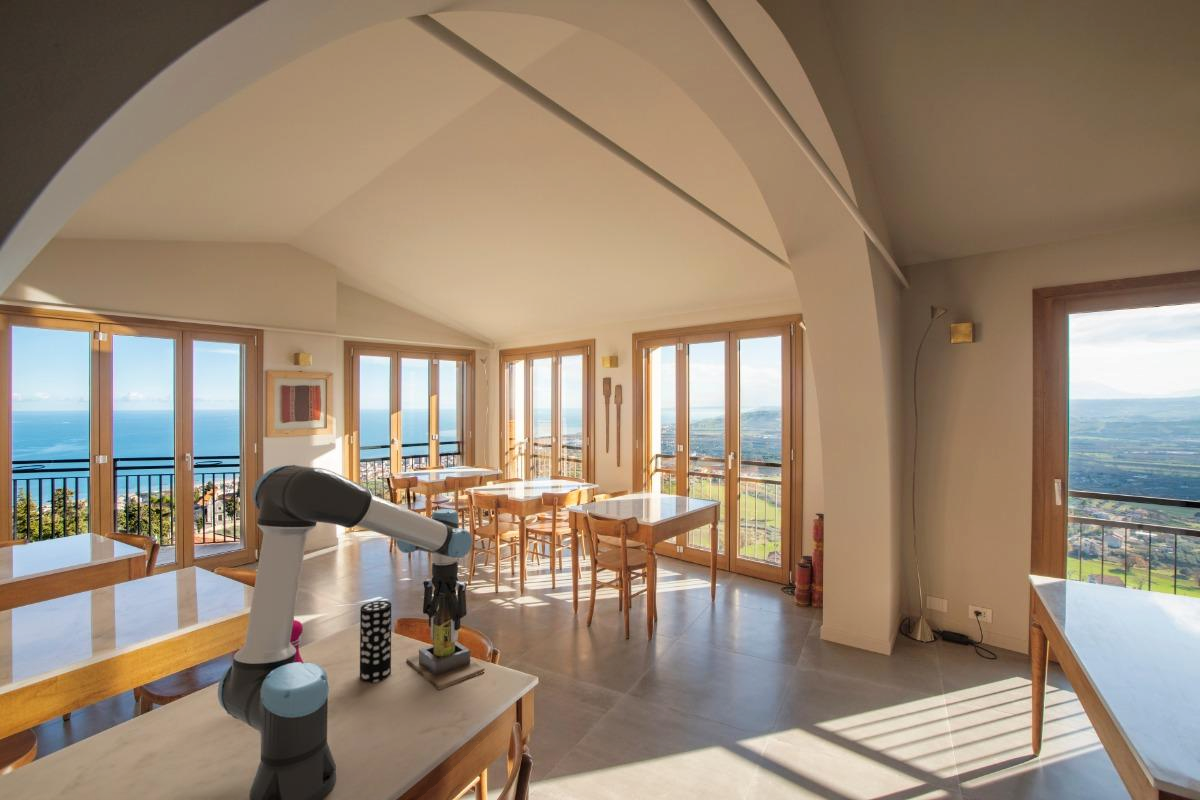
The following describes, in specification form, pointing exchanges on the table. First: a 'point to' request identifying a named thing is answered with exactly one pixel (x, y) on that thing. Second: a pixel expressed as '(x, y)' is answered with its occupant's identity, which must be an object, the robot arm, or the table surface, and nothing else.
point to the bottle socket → (444, 659)
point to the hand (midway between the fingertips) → (444, 638)
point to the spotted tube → (375, 641)
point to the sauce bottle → (443, 629)
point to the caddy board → (448, 677)
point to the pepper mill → (296, 639)
